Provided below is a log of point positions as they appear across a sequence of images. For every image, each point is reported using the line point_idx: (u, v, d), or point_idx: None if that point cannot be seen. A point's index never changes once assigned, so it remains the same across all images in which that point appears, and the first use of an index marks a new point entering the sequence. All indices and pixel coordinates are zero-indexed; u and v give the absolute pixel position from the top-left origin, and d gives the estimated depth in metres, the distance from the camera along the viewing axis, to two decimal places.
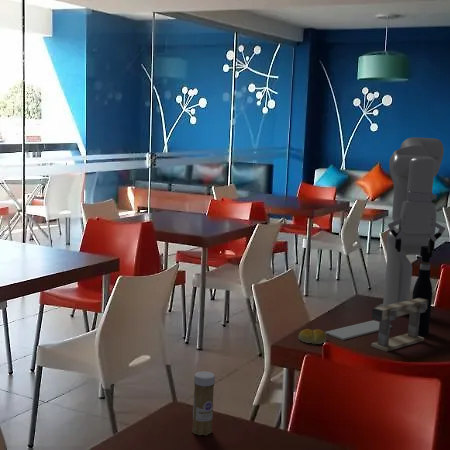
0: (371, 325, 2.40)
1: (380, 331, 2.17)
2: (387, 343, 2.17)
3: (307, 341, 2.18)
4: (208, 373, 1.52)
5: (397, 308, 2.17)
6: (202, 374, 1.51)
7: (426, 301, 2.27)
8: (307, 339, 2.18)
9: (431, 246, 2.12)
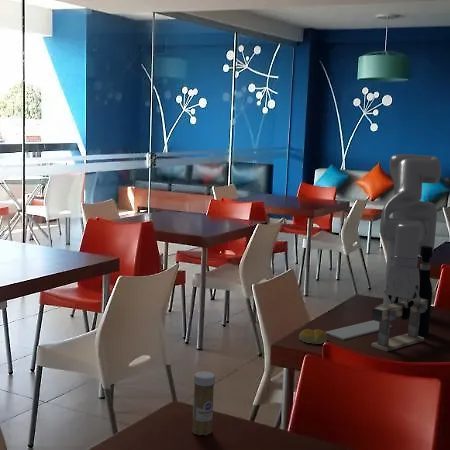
0: (371, 325, 2.40)
1: (380, 331, 2.17)
2: (387, 343, 2.17)
3: (307, 341, 2.18)
4: (208, 373, 1.52)
5: (397, 308, 2.17)
6: (202, 374, 1.51)
7: (426, 301, 2.27)
8: (308, 339, 2.18)
9: None
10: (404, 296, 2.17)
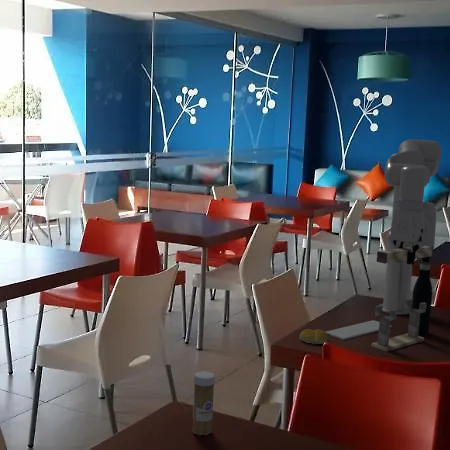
0: (371, 325, 2.40)
1: (380, 331, 2.17)
2: (387, 343, 2.17)
3: (308, 341, 2.18)
4: (208, 373, 1.52)
5: (402, 252, 2.15)
6: (202, 374, 1.51)
7: (431, 248, 2.25)
8: (309, 339, 2.18)
9: None
10: (409, 240, 2.14)
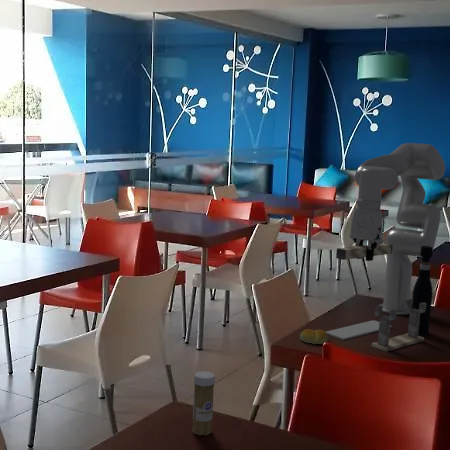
0: (371, 325, 2.40)
1: (380, 331, 2.17)
2: (387, 343, 2.17)
3: (308, 341, 2.18)
4: (208, 373, 1.52)
5: (361, 249, 2.27)
6: (202, 374, 1.51)
7: (390, 245, 2.37)
8: (309, 340, 2.18)
9: None
10: (367, 238, 2.26)
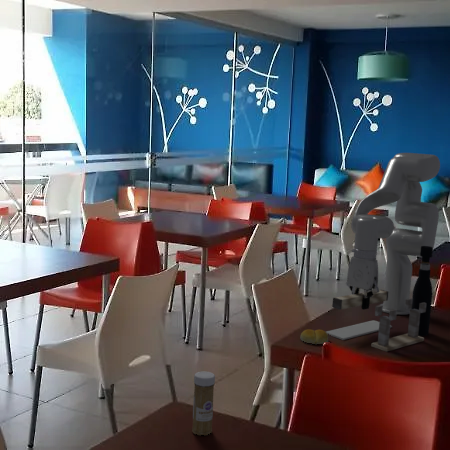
0: (371, 325, 2.40)
1: (380, 331, 2.17)
2: (387, 343, 2.17)
3: (309, 341, 2.18)
4: (208, 373, 1.52)
5: (357, 298, 2.29)
6: (202, 374, 1.51)
7: (386, 293, 2.39)
8: (310, 340, 2.18)
9: None
10: (363, 287, 2.29)
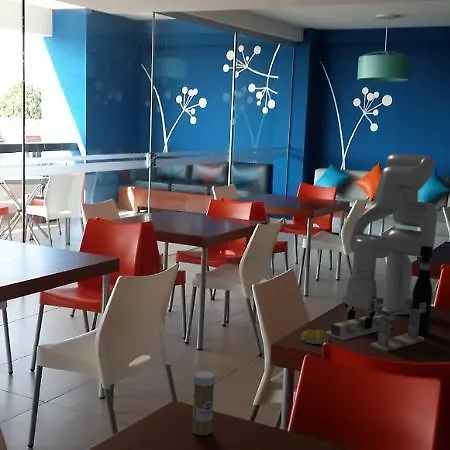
0: None
1: (380, 331, 2.17)
2: (387, 343, 2.17)
3: (310, 341, 2.18)
4: (208, 373, 1.52)
5: (355, 324, 2.31)
6: (202, 374, 1.51)
7: None
8: (310, 340, 2.17)
9: None
10: (362, 307, 2.30)
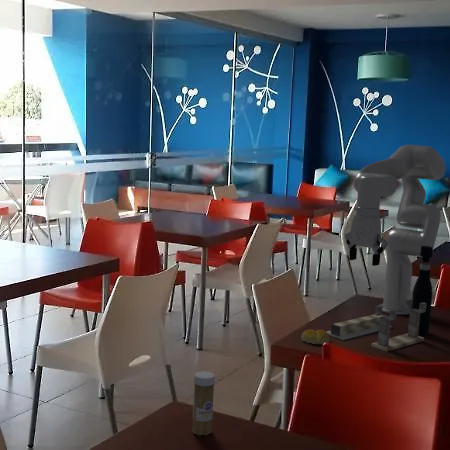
0: None
1: (380, 331, 2.17)
2: (387, 343, 2.17)
3: (310, 341, 2.18)
4: (208, 373, 1.52)
5: (355, 324, 2.31)
6: (202, 374, 1.51)
7: None
8: (311, 340, 2.17)
9: None
10: (366, 245, 2.27)
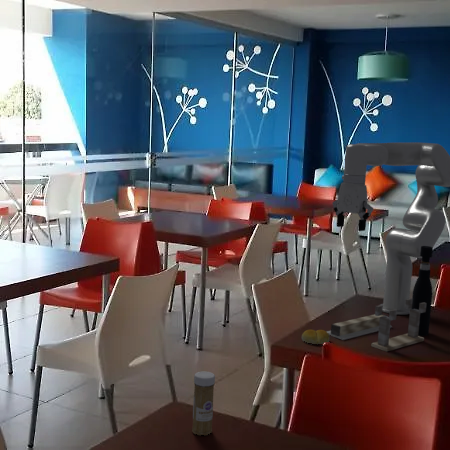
0: None
1: (380, 331, 2.17)
2: (387, 343, 2.17)
3: (310, 341, 2.17)
4: (208, 373, 1.52)
5: (355, 324, 2.31)
6: (202, 374, 1.51)
7: None
8: (311, 340, 2.17)
9: None
10: (353, 210, 2.37)
